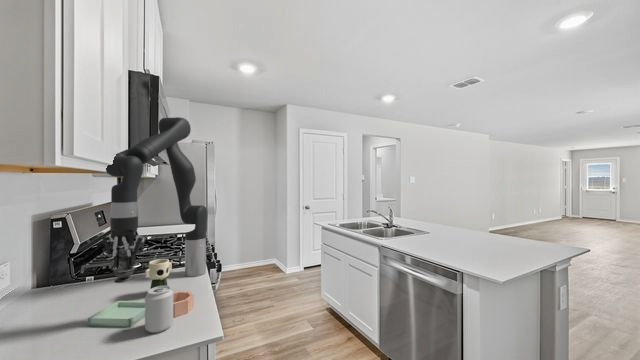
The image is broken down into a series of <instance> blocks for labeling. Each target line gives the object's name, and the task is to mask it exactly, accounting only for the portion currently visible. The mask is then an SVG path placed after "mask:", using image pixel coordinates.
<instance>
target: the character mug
mask: <svg viewBox="0 0 640 360" xmlns="http://www.w3.org/2000/svg"><path fill="white" fill-rule="evenodd" d="M172 267H173V265H172V262H170V260H169V259H168V258H159V259H154V260H150V261H149V262H148V268H147V269H145V272H144V274H145V276H144V277H145V278H146V279H149V280H151V283H150V287H149V290H150V289H152V288H154V287H158V286H168V281H167V278H168V276H169V275H170V271H171V270H172V269H173V268H172Z"/></svg>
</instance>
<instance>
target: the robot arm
mask: <svg viewBox="0 0 640 360" xmlns="http://www.w3.org/2000/svg"><path fill="white" fill-rule="evenodd" d="M191 131H192V130H191V124H190V122H189V121H188V120H187V119H186V118H184V117H179V116H177V117H176V116H175V117H162V118H161V119H160V120H159V122H158V132H159V133H157V134H154V135H151V136H149V137H145V138H144V139H142V140H140V141H139V142H138V143H136V144H134V145H133V146H132V147H130V148H128V149H125V150H122V151H120V152H118V153H115V154H116V156H115V157H114V160H113V164H112V165H108V166H107V168H106V170H105V171H106V173H107V174H108V175H110V176H111V177H115V178H122V179H121V182H120V183H117V184H114V185H113V186H112V187H111V189H110V190H111V196H110V197H111V199H110V201H111V203H110V210H109V211H110V213H109V214H110V217H109V218H110V221H109V223H110V224H109V225H110V227H109V228H110V231H111V233H110V235H109V236H104V237H102V242H103V244H104V248H105V250H106V253H107V255H111V256H113V266H114V267H115V268H116V269H117V268H118V266H119V260H118V258H119V249H120V248H122V247H125V250H126V251H127V255H128V257H127V267H128V268H131V267H135V265H136V255H138V254H141V253H142V251H143V248H144V245H145V243H146V240H147V236H146V235H143V236H142V235H139V233H138V228H139V205H138V190H139V189H138V188H139V186H140V182H141V178H142V175H143V172H144V165H145V164H147V163H149V162H150V161H151V160H153V159H155V157H156V156H158V155H159V154H160V153H161V152H163V151H165V152H166V155H167V158H168V162H169V166H170V170H171V174H172V179H173V183H174V186H175V191H176V195H177V200H178V206H179V208H178V209H179V214H180V220H181V221H182V223H183V224H185V225H195V226H194V229H193V230H190V231H187V232H186V233H185V234H184V276H185V277H189V278H190V277H191V278H192V277H193V278H194V277H199V276H202V275H204V274H206V271H207V241H206V240H207V238H206V237H207V230H208V214H209V213H208V210H207V209H208V208H207V207H206V206H205V205H199V204H198V205H193V204H192V203H191V194H192V191H193V189H194V187H195V184H196V181H197V178H196V172H195V168H194V165H193V164H192V162H191V161H190V159H189V158H188V157H187V156H186V155H185V153H183V151H182V150H181V149H180V146H179V144H178V143H179V142H180V141H183V140H185V139H186V138H188V137H189V136H190V134H191Z"/></svg>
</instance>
